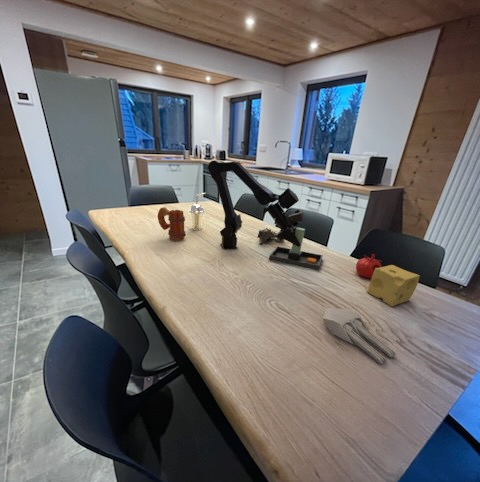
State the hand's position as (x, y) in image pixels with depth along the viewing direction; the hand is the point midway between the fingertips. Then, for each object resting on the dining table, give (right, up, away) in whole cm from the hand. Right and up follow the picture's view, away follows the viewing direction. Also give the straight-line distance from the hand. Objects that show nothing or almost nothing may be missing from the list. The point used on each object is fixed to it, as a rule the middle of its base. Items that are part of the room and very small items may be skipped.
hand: (300, 244), depth 114 cm
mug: (-60, +5, +19) cm, 63 cm away
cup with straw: (-51, +13, +36) cm, 63 cm away
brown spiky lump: (-10, +4, +25) cm, 27 cm away
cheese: (+26, -21, -20) cm, 39 cm away
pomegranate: (+26, -13, -5) cm, 30 cm away
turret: (+5, -30, -42) cm, 52 cm away
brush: (-2, -6, +3) cm, 7 cm away
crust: (+5, -8, +1) cm, 9 cm away
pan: (-1, -7, +4) cm, 8 cm away
